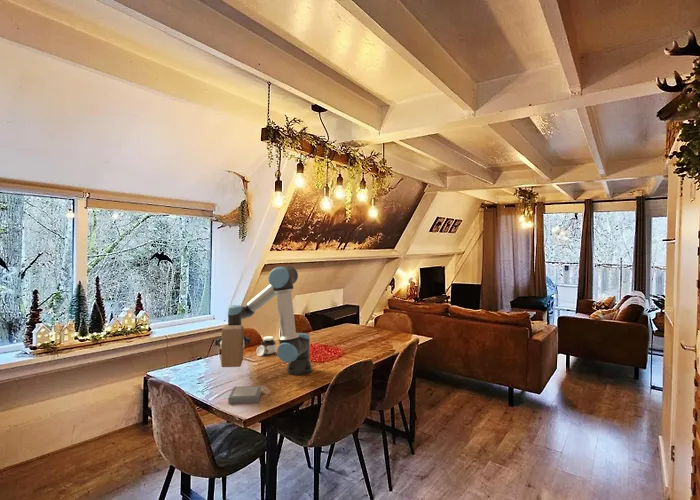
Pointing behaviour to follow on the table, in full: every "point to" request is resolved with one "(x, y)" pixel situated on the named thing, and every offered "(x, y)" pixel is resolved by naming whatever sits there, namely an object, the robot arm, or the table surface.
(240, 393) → the slate base
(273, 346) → the spread jar
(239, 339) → the wooden block
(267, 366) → the table surface
